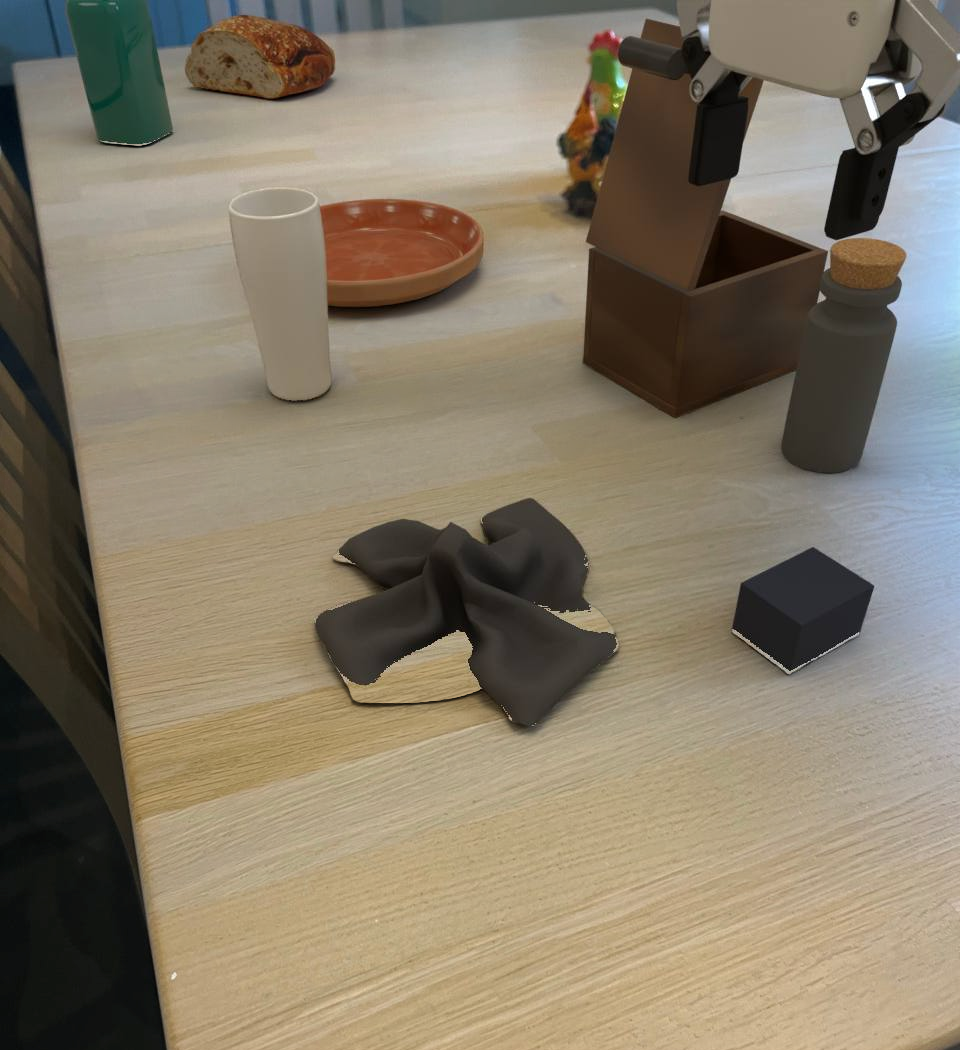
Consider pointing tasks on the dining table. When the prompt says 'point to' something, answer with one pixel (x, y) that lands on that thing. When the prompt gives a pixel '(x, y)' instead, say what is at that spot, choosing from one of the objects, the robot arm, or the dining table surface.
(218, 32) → the bread
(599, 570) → the dining table surface
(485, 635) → the cloth
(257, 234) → the drinking glass
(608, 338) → the wooden box
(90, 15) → the pitcher
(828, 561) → the matte black cuboid
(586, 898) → the dining table surface
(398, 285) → the saucer
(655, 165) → the box lid
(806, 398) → the bottle
